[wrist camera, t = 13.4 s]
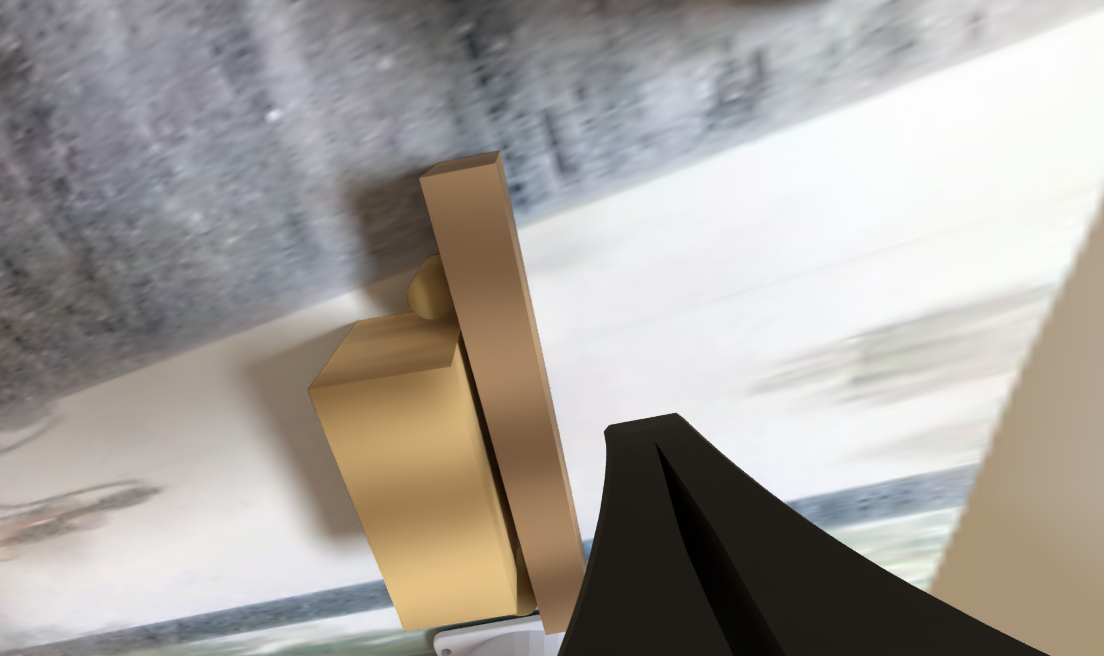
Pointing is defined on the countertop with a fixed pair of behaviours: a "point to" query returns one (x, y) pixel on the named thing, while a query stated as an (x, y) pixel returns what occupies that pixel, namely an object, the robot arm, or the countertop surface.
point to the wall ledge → (504, 371)
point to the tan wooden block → (421, 468)
